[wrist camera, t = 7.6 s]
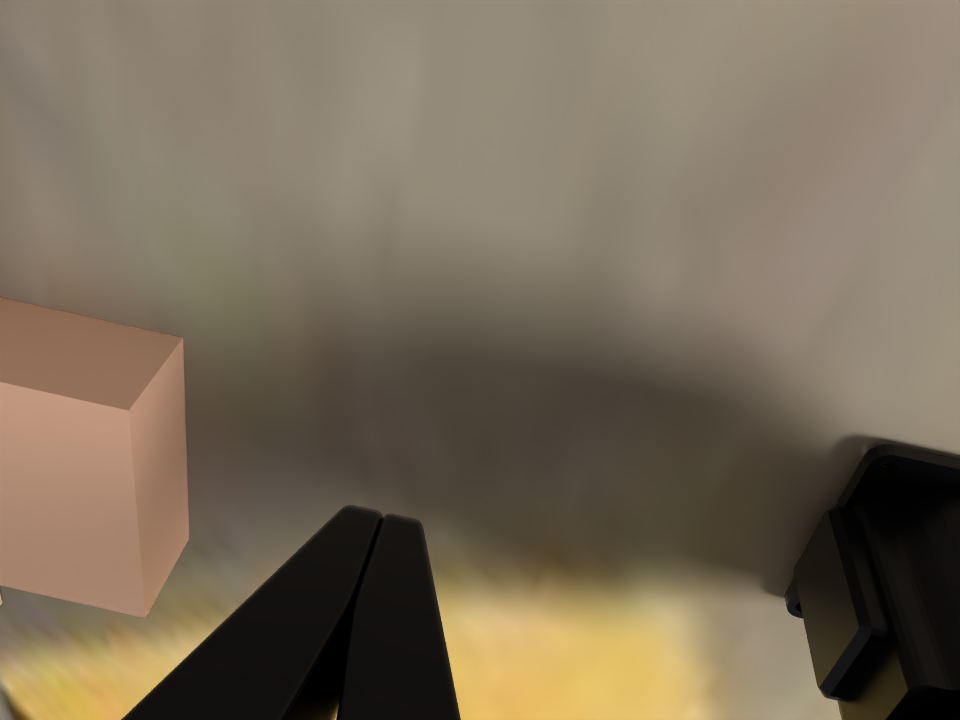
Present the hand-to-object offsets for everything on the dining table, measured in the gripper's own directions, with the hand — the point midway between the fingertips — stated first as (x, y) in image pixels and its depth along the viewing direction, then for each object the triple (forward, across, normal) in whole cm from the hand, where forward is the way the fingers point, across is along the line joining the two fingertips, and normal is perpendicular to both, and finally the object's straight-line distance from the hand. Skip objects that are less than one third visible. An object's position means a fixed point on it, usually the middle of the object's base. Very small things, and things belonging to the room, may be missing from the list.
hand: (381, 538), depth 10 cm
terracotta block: (+12, +11, +11) cm, 20 cm away
